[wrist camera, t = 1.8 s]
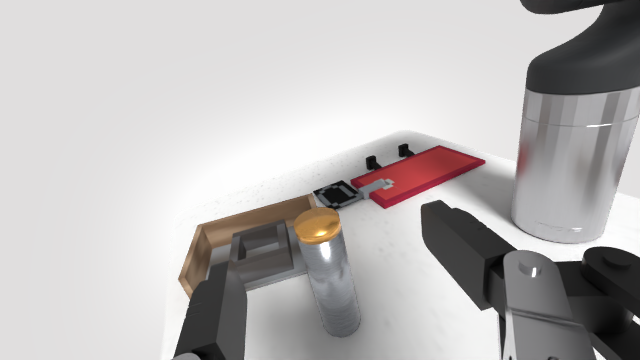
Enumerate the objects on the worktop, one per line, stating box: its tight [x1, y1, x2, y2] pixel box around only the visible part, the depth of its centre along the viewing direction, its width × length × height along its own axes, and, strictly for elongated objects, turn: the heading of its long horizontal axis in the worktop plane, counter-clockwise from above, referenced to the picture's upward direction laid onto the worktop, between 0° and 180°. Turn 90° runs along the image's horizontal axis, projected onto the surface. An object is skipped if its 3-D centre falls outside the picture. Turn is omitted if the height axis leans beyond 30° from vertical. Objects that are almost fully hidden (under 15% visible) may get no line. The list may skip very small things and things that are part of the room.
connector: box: [294, 207, 361, 337], centre depth 27 cm, size 4×4×13 cm
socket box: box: [178, 193, 317, 299], centre depth 41 cm, size 12×19×5 cm, turn 101°
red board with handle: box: [313, 144, 485, 210], centre depth 54 cm, size 30×3×15 cm
